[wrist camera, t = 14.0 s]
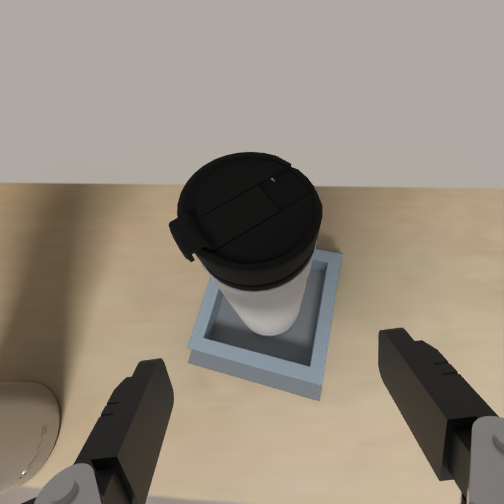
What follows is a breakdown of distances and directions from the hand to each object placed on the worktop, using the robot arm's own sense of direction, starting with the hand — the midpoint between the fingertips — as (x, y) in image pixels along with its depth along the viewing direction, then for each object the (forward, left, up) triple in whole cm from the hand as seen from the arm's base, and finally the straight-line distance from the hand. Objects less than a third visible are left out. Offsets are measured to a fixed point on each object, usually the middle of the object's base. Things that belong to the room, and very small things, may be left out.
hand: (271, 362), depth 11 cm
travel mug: (-2, +6, -18) cm, 19 cm away
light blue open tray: (-2, +6, -19) cm, 20 cm away
